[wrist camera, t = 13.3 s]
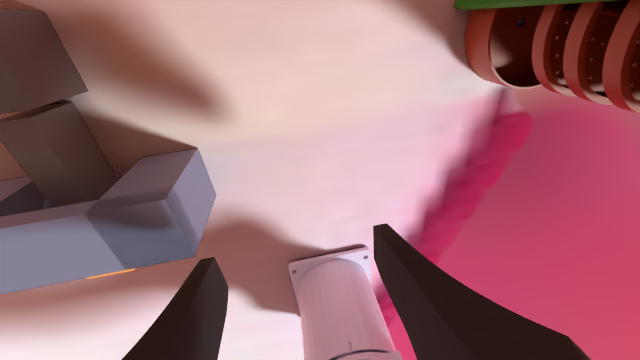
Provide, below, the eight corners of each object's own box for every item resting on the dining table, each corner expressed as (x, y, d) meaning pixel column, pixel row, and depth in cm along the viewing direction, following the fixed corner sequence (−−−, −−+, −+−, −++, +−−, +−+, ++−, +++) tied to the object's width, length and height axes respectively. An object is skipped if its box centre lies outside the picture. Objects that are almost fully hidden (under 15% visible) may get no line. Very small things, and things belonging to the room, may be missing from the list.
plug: (165, 229, 21) (144, 268, 18) (109, 239, 21) (77, 281, 18) (33, -8, 13) (-51, -20, 10) (-62, 3, 13) (-184, -5, 9)
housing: (216, 195, 20) (194, 256, 15) (25, 229, 19) (-73, 308, 14) (197, 148, 18) (165, 199, 13) (-17, 183, 17) (-151, 255, 12)
